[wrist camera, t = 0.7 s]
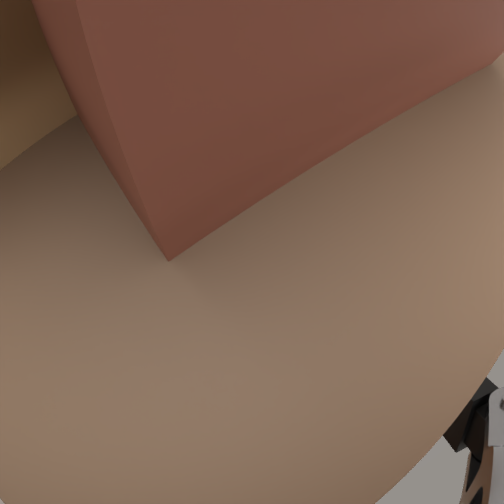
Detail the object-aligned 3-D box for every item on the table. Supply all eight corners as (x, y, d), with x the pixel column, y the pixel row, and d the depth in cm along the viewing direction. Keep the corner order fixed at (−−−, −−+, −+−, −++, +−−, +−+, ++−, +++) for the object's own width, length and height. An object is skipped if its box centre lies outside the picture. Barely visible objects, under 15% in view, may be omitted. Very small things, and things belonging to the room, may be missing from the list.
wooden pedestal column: (133, 270, 33) (-80, 19, 2) (212, 216, 36) (273, -105, 5) (193, 356, 32) (143, 619, 1) (272, 297, 35) (574, 144, 4)
